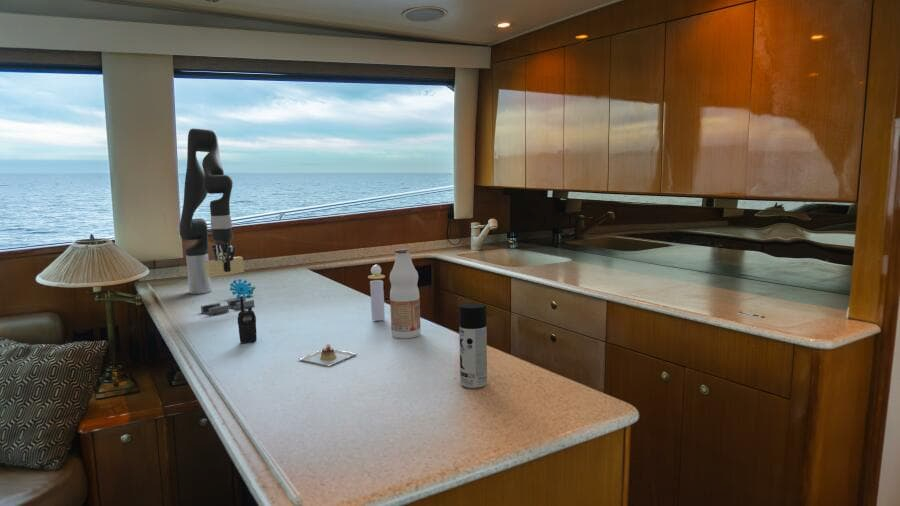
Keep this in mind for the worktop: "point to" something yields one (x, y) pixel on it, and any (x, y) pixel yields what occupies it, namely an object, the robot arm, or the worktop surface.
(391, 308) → the fruit juice
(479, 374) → the spray can
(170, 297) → the worktop surface
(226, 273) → the link bar
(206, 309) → the grey u-channel block
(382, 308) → the perfume bottle
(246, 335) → the two-way radio
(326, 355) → the dessert
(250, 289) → the gear
